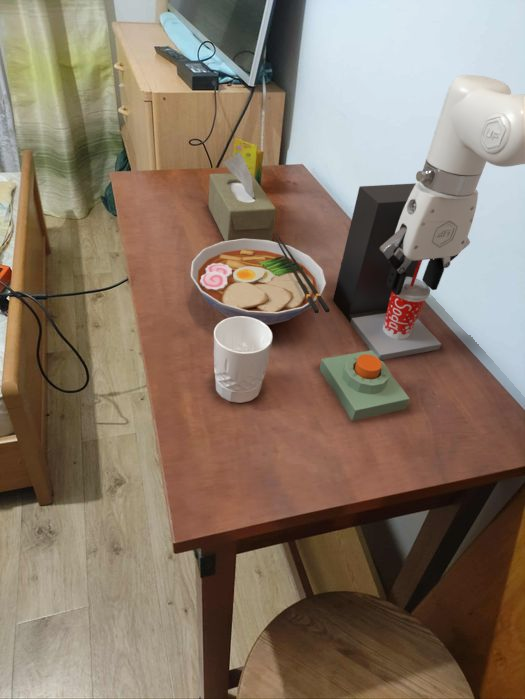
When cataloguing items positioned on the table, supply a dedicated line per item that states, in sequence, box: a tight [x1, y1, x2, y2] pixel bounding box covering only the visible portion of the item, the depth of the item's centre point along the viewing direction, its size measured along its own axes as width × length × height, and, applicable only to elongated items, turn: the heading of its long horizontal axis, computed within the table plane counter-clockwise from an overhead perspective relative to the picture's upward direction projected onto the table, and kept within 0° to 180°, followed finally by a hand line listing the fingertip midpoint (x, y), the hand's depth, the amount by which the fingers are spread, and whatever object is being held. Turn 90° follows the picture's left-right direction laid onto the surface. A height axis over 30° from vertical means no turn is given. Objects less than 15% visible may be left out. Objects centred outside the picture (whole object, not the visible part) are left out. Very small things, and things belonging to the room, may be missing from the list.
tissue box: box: [208, 153, 277, 242], centre depth 108 cm, size 19×10×16 cm, turn 17°
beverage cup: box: [383, 260, 431, 339], centre depth 83 cm, size 6×6×14 cm
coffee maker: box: [332, 182, 442, 361], centre depth 83 cm, size 17×12×22 cm
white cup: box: [213, 316, 274, 404], centre depth 71 cm, size 8×8×10 cm
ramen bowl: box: [190, 232, 331, 326], centre depth 87 cm, size 25×23×8 cm
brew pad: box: [318, 349, 410, 422], centre depth 76 cm, size 11×9×4 cm
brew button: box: [355, 354, 382, 379], centre depth 74 cm, size 4×4×2 cm
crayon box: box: [232, 137, 265, 187], centre depth 125 cm, size 7×3×12 cm, turn 52°
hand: (411, 286), depth 81 cm, fingers closed on beverage cup, 6 cm apart
